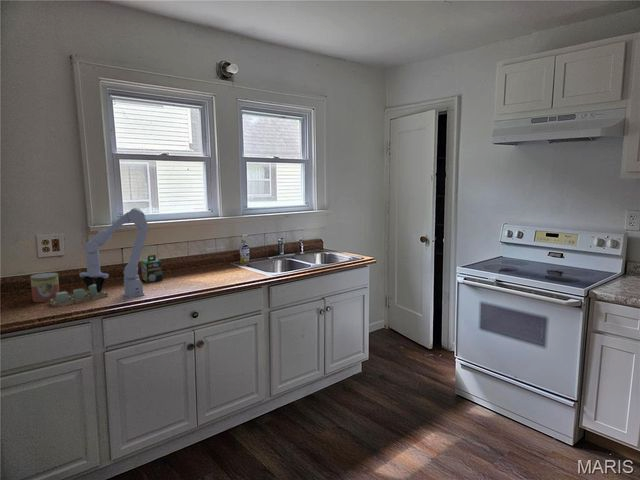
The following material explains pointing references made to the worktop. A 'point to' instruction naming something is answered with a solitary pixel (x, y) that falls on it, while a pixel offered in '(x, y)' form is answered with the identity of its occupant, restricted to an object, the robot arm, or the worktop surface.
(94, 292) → the loose block
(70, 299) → the rack
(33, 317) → the worktop surface
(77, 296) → the seated block
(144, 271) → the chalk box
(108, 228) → the robot arm
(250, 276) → the worktop surface
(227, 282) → the worktop surface
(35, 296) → the canned food
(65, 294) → the seated block
